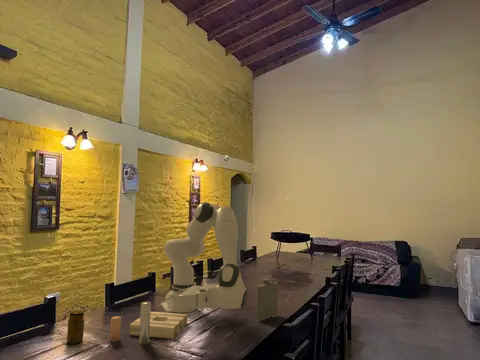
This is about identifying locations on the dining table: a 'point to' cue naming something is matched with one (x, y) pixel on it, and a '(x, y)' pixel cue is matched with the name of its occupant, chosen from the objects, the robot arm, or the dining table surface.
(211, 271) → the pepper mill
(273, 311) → the hip flask
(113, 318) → the short terracotta pin
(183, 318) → the hole block
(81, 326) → the condiment
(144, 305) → the tall metal pin
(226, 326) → the dining table surface
